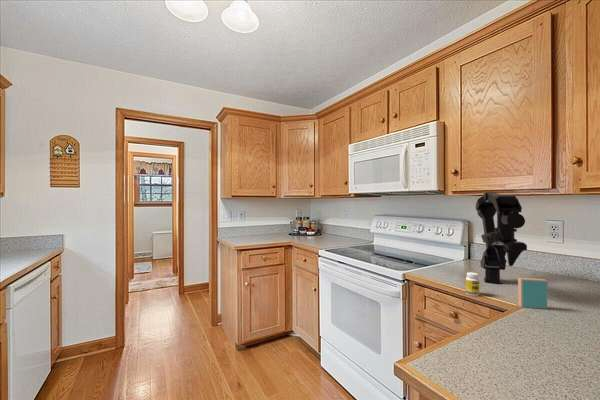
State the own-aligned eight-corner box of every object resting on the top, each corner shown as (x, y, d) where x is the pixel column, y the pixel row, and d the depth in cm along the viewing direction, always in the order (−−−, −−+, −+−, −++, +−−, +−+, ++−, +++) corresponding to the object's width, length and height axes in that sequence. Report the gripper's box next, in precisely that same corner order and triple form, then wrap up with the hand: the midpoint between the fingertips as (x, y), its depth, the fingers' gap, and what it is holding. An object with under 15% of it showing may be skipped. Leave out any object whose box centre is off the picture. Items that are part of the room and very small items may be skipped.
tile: (518, 305, 100) (518, 277, 100) (543, 306, 99) (543, 278, 99) (521, 307, 98) (521, 279, 98) (548, 309, 96) (547, 280, 96)
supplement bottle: (472, 296, 109) (472, 275, 109) (462, 292, 114) (462, 272, 114) (482, 295, 111) (482, 274, 111) (472, 291, 115) (472, 271, 115)
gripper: (474, 223, 124) (474, 258, 124) (494, 228, 106) (494, 268, 106) (502, 223, 122) (502, 259, 122) (527, 228, 103) (528, 269, 103)
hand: (505, 263), depth 113 cm, fingers open, 7 cm apart
